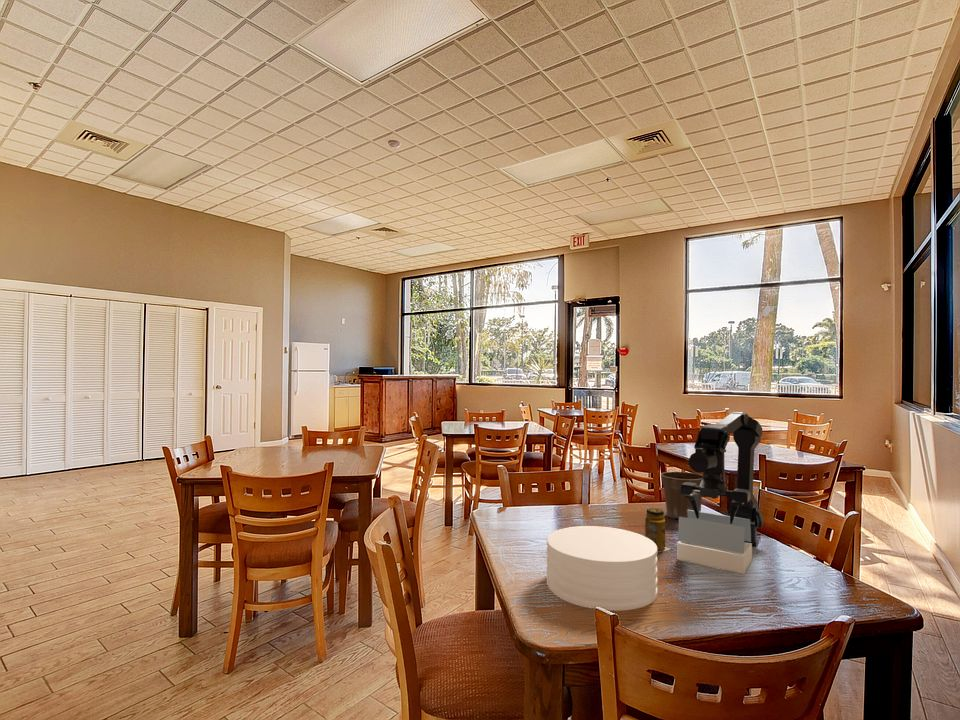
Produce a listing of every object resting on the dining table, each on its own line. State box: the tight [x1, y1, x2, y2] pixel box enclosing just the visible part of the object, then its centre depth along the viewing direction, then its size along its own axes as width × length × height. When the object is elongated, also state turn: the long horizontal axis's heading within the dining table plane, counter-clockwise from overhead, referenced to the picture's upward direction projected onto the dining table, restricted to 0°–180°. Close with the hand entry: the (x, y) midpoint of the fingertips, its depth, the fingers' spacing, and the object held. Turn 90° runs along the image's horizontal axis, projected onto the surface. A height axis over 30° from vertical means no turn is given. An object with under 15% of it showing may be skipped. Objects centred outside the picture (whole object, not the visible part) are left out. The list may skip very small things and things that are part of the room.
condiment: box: [644, 507, 672, 554], centre depth 162 cm, size 7×8×12 cm
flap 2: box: [677, 517, 745, 553], centre depth 147 cm, size 7×18×1 cm
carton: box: [676, 541, 753, 575], centre depth 151 cm, size 13×18×5 cm
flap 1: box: [687, 510, 751, 542], centre depth 156 cm, size 7×18×1 cm
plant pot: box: [660, 471, 703, 520], centre depth 198 cm, size 16×16×16 cm
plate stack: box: [546, 525, 658, 611], centre depth 133 cm, size 28×28×12 cm
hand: (714, 520), depth 152 cm, fingers open, 9 cm apart
